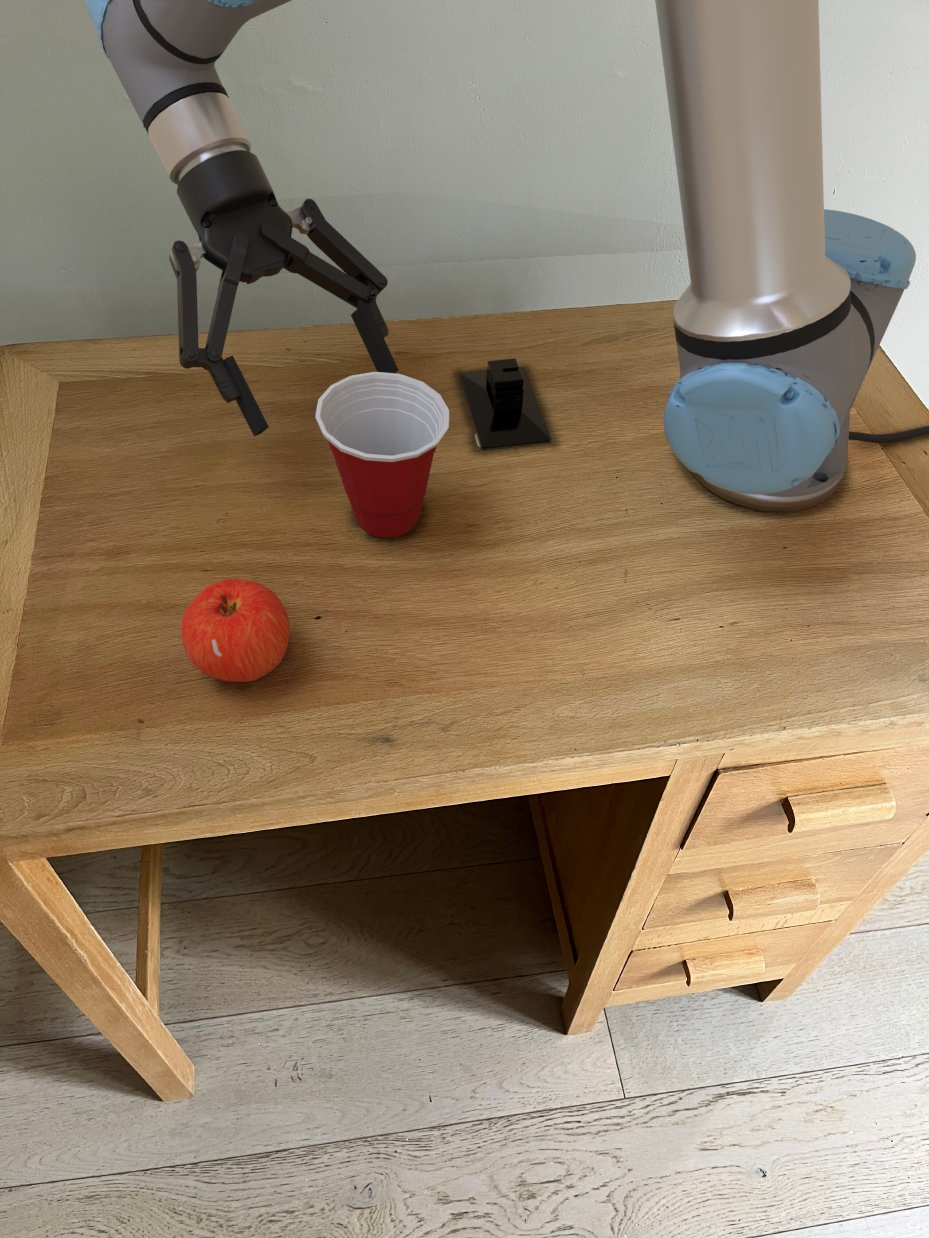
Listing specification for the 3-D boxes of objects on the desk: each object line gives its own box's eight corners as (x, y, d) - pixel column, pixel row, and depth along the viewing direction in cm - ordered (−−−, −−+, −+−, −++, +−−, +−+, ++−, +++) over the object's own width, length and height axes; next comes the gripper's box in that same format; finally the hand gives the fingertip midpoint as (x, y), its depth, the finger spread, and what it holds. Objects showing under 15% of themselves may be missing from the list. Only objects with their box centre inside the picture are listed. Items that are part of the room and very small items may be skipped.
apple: (279, 708, 65) (261, 645, 59) (178, 691, 66) (149, 627, 60) (309, 627, 70) (295, 560, 64) (214, 612, 71) (192, 545, 65)
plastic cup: (435, 569, 74) (433, 463, 65) (315, 549, 75) (296, 442, 66) (460, 485, 81) (462, 378, 72) (350, 468, 82) (337, 361, 73)
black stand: (550, 443, 85) (555, 405, 81) (478, 451, 84) (480, 413, 80) (522, 368, 93) (525, 330, 89) (456, 375, 92) (456, 337, 88)
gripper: (326, 153, 81) (423, 365, 86) (70, 230, 71) (194, 465, 76) (352, 111, 74) (455, 343, 79) (73, 190, 65) (210, 449, 69)
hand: (328, 403), depth 77 cm, fingers open, 13 cm apart
